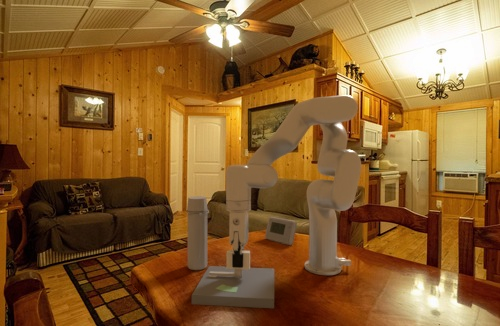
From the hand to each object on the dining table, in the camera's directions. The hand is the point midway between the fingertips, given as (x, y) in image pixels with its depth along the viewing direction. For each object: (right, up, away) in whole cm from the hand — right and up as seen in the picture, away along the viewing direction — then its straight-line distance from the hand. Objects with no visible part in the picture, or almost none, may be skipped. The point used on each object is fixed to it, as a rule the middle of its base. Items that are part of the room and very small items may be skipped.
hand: (238, 264), depth 85 cm
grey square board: (0, -6, -2) cm, 7 cm away
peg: (-3, -4, 0) cm, 5 cm away
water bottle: (-15, -6, +14) cm, 21 cm away
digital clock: (+18, -6, +46) cm, 49 cm away
